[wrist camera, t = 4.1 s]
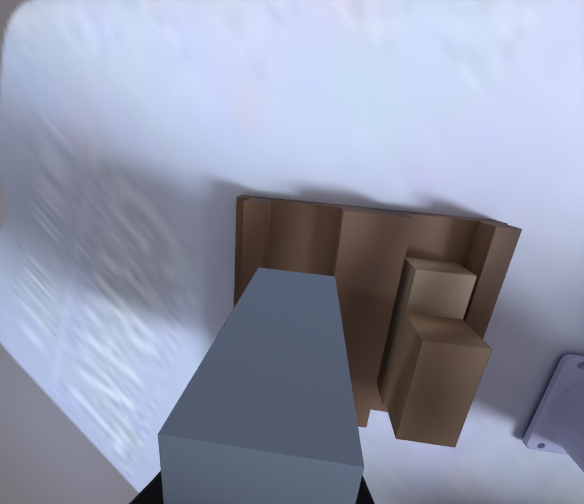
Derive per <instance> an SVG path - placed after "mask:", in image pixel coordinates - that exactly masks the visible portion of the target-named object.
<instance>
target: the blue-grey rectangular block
mask: <svg viewBox="0 0 584 504" xmlns="http://www.w3.org/2000/svg"><path fill="white" fill-rule="evenodd" d="M158 442H159V453H160V465H161V477H162V488H163V500H164V504H355V503H356V499H357V495H358V491H359V487H360V482H361V478H362V474H363V470H364V464H363V457H362V450H361V444H360V437H359V431H358V424H357V418H356V411H355V405H354V398H353V391H352V385H351V378H350V372H349V365H348V359H347V352H346V346H345V339H344V332H343V326H342V319H341V313H340V306H339V300H338V293H337V287H336V280H335V276H327V275H318V274H310V273H301V272H292V271H284V270H275V269H267V268H258V269H257V271H256V273H255V274H254V276H253V278H252V279H251V281H250V283H249V284H248V286H247V288H246V289H245V291H244V293H243V294H242V296H241V298H240V299H239V301H238V303H237V304H236V306H235V308H234V309H233V311H232V312H231V314H230V316H229V317H228V319H227V321H226V322H225V324H224V326H223V327H222V329H221V331H220V332H219V334H218V336H217V337H216V339H215V341H214V342H213V344H212V346H211V347H210V349H209V351H208V352H207V354H206V355H205V357H204V359H203V360H202V362H201V364H200V365H199V367H198V369H197V370H196V372H195V374H194V375H193V377H192V379H191V380H190V382H189V384H188V385H187V387H186V389H185V390H184V392H183V394H182V395H181V397H180V398H179V400H178V402H177V403H176V405H175V407H174V408H173V410H172V412H171V413H170V415H169V417H168V418H167V420H166V422H165V423H164V425H163V427H162V428H161V430H160V432H159V433H158Z"/></svg>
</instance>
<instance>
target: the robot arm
mask: <svg viewBox="0 0 584 504" xmlns="http://www.w3.org/2000/svg"><path fill="white" fill-rule="evenodd" d="M523 443H524V444H525V445H526V447H527V448H529V449H534V450H540V451H547V452H554V453H561V454H568V455H569V456H570V457H571V458H572V459H573V460H574V461H575V462H576V464H577V465H578V466H579V467H580V468H581V469H582V470H583V472H584V356H580V355H572V354H569V355H565V356H563V357H562V358H561V360H560V362H559V364H558V366H557V368H556V370H555V373H554V375H553V377H552V379H551V381H550V383H549V385H548V387H547V389H546V392H545V394H544V396H543V398H542V400H541V402H540V404H539V406H538V408H537V411H536V413H535V415H534V417H533V419H532V421H531V423H530V425H529V427H528V430H527V432H526V434H525V436H524V438H523ZM129 504H164V500H163V488H162V477H161V471H160V472H159V473H158V474H157V475H156V477H155V478H154V479H153V480H152V481H151V482H150V483H149V484H148V485H147V486H146V487H145V488H144V489H143V490H142V491H141V492H140V493H139V494H138V495H137V496H136V497H135V498H134V500H132V501H131V502H130V503H129ZM355 504H375V503H374V501H373V499H372V496H371V494H370V492H369V489H368V487H367V485H366V482H365V480H364V477H363V475H362V478H361V482H360V487H359V491H358V495H357V499H356V503H355Z"/></svg>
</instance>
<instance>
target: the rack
mask: <svg viewBox="0 0 584 504" xmlns="http://www.w3.org/2000/svg"><path fill="white" fill-rule="evenodd" d="M521 230H522V229H519V228H516V227H513V226H510V225H508V224H507V223H503V222H500V221H497V220H487V219H477V218H467V217H457V216H447V215H437V214H427V213H417V212H406V211H396V210H386V209H376V208H366V207H356V206H346V205H336V204H325V203H315V202H305V201H295V200H285V199H275V198H265V197H254V196H244V195H241V196H238V197H237V205H236V248H235V291H234V308H235V306H236V304H237V303H238V301H239V299H240V298H241V296H242V294H243V293H244V291H245V289H246V288H247V286H248V284H249V283H250V281H251V279H252V278H253V276H254V274H255V273H256V271H257V269H258V268H267V269H275V270H284V271H292V272H301V273H310V274H318V275H327V276H335V280H336V287H337V293H338V300H339V306H340V313H341V319H342V326H343V332H344V339H345V346H346V352H347V359H348V365H349V372H350V378H351V385H352V391H353V398H354V405H355V411H356V418H357V424H358V426H359V427H366V426H367V422H368V418H369V413H370V409H371V410H379V411H386V412H388V410H387V407H386V406H383V405H382V401H381V397H380V394H379V390H378V386H377V383H376V382H377V378H378V374H379V369H380V365H381V360H382V356H383V352H384V347H385V343H386V338H387V334H388V330H389V325H390V321H391V317H392V312H393V308H394V303H395V299H396V295H397V290H398V286H399V281H400V277H401V273H402V268H403V264H404V259H405V257H408V258H417V259H427V260H436V261H445V262H454V263H458V264H460V265H461V266H463V267H464V268H466V269H467V270H468V271H470V272H471V273H473V274H474V275H476V276H477V277H476V280H475V283H474V286H473V289H472V293H471V296H470V299H469V302H468V305H467V308H466V311H465V314H464V317H463V320H464V321H465V322H466V323H467V324H468V325H469V326H470V327H471V328H472V329H473V330H474V331H475V333H476V334H477V335H478V336H479V337H480V338H481V339H482V340H483V337H484V334H485V331H486V329H487V326H488V323H489V320H490V317H491V315H492V312H493V309H494V306H495V303H496V301H497V298H498V295H499V292H500V289H501V287H502V284H503V281H504V278H505V275H506V273H507V270H508V267H509V264H510V261H511V259H512V256H513V253H514V250H515V247H516V245H517V242H518V239H519V236H520V233H521Z"/></svg>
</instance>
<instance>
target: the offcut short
mask: <svg viewBox="0 0 584 504" xmlns="http://www.w3.org/2000/svg"><path fill="white" fill-rule="evenodd" d="M491 350H492V349H491V348H490V347H489V346H488V345H487V344H486V343H485V342H484V341H483V340H482V339H481V338H480V337H479V336H478V335H477V334H476V333H475V331H474V330H473V329H472V328H471V327H470V326H469V325H468V324H467V323H466V322H465V321H464V320H463V319H456V318H448V317H439V316H431V315H423V314H414V313H405V317H404V321H403V325H402V329H401V333H400V337H399V342H398V346H397V350H396V354H395V358H394V362H393V366H392V370H391V374H390V378H389V382H388V386H387V391H386V395H385V399H384V400H385V403H386V407H387V410H388V414H389V417H390V421H391V424H392V427H393V431H394V434H395V438H396V439H401V440H408V441H415V442H422V443H428V444H435V445H442V446H449V447H455V446H456V444H457V441H458V438H459V436H460V433H461V430H462V428H463V425H464V422H465V420H466V417H467V414H468V412H469V409H470V406H471V404H472V401H473V398H474V396H475V393H476V390H477V388H478V385H479V382H480V380H481V377H482V374H483V371H484V369H485V366H486V363H487V361H488V358H489V355H490V353H491Z"/></svg>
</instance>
